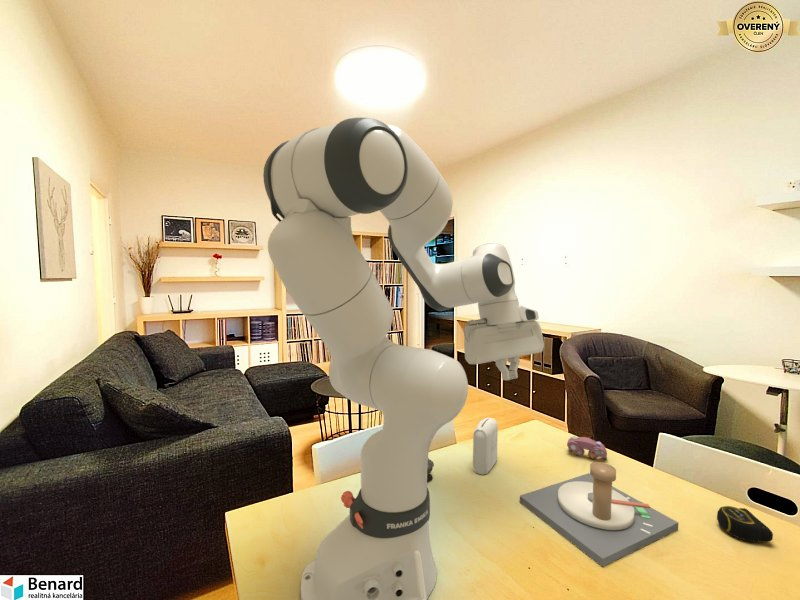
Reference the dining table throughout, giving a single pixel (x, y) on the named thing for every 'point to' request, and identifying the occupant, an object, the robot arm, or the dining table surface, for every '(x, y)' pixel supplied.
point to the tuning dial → (598, 500)
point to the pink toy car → (587, 447)
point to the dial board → (595, 540)
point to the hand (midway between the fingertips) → (510, 379)
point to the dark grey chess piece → (429, 470)
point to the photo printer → (485, 445)
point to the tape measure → (743, 524)
